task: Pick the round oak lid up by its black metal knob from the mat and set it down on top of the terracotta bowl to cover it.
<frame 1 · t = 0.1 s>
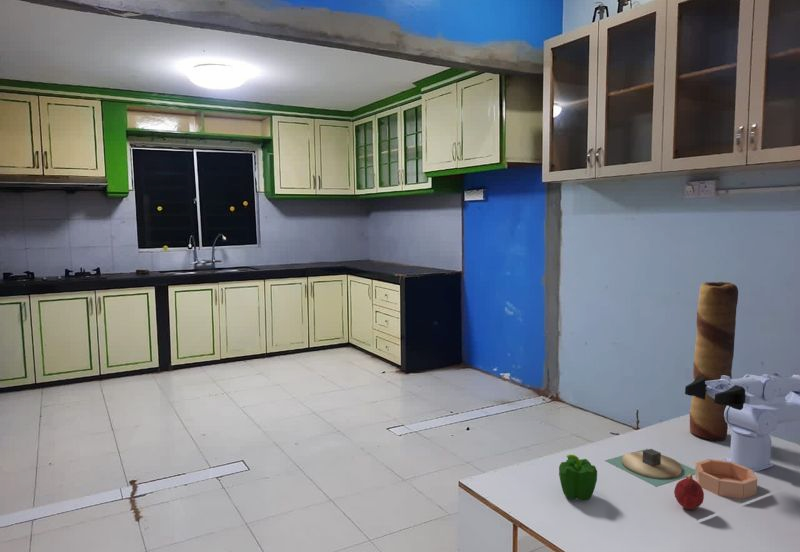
hand: (700, 394, 135), 22 cm above the table, tool horizontal, fingers open, 7 cm apart
lid: (651, 466, 145), resting on mat
bowl: (724, 486, 134), on the table
bell pepper: (577, 496, 131), on the table
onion: (688, 510, 124), on the table
wafer roll: (709, 435, 166), on the table
mat: (651, 467, 145), on the table
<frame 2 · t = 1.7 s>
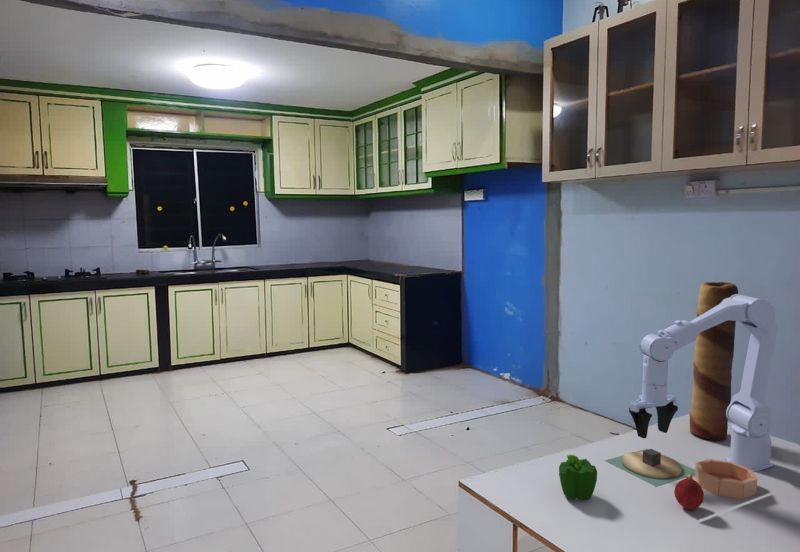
hand: (652, 434, 144), 9 cm above the table, tool pointing down, fingers open, 7 cm apart
nothing on the table moved.
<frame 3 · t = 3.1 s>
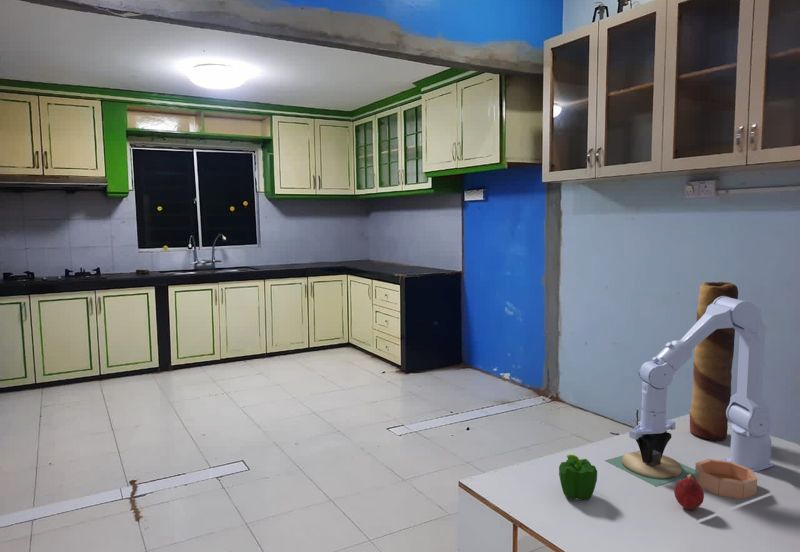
hand: (651, 460, 144), 2 cm above the table, tool pointing down, fingers closed on lid, 3 cm apart
lid: (651, 466, 145), resting on mat, touching gripper
everything else where it was.
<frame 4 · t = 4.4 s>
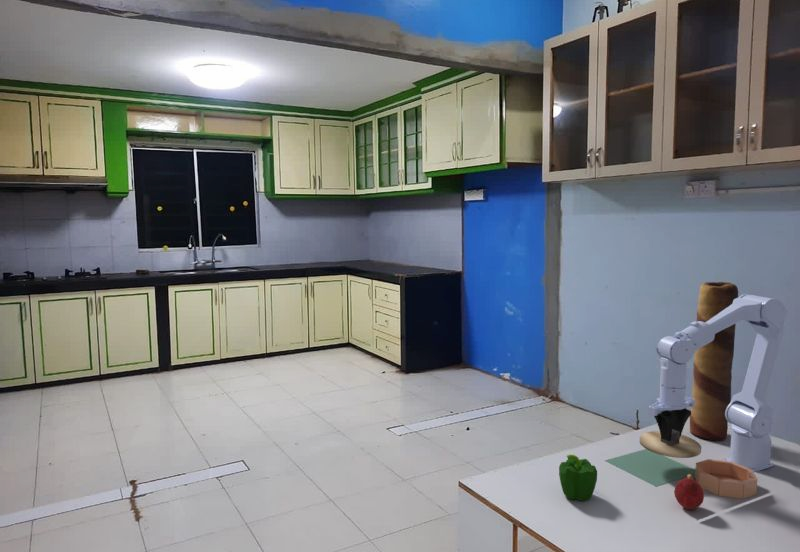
hand: (670, 438, 141), 9 cm above the table, tool pointing down, fingers closed on lid, 3 cm apart
lid: (669, 445, 142), point 7 cm above the table, touching gripper
everything else where it was.
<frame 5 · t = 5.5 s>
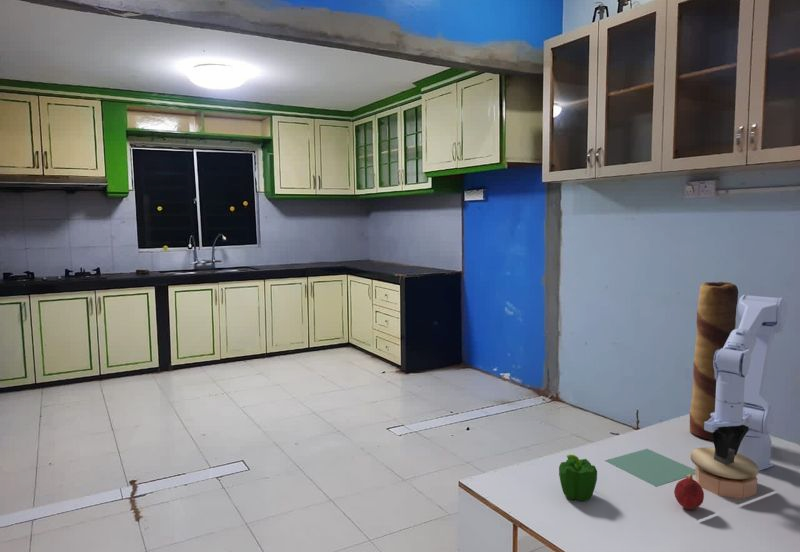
hand: (726, 455, 134), 8 cm above the table, tool pointing down, fingers closed on lid, 3 cm apart
lid: (723, 464, 134), point 5 cm above the table, touching gripper
everything else where it was.
when the fingers open (7 cm above the table, at t = 6.0 s): lid stays where it is, resting on bowl.
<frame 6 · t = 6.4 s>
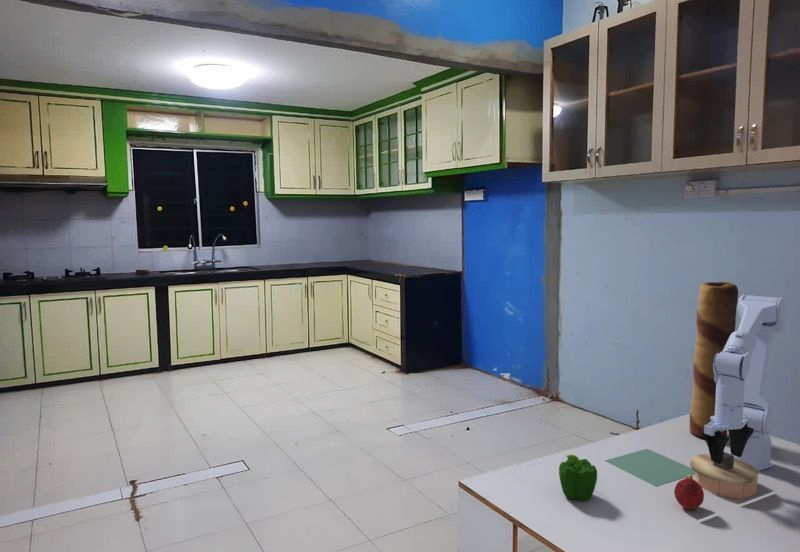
hand: (726, 458, 134), 7 cm above the table, tool pointing down, fingers open, 7 cm apart
lid: (723, 469, 135), point 4 cm above the table, touching bowl
everything else where it was.
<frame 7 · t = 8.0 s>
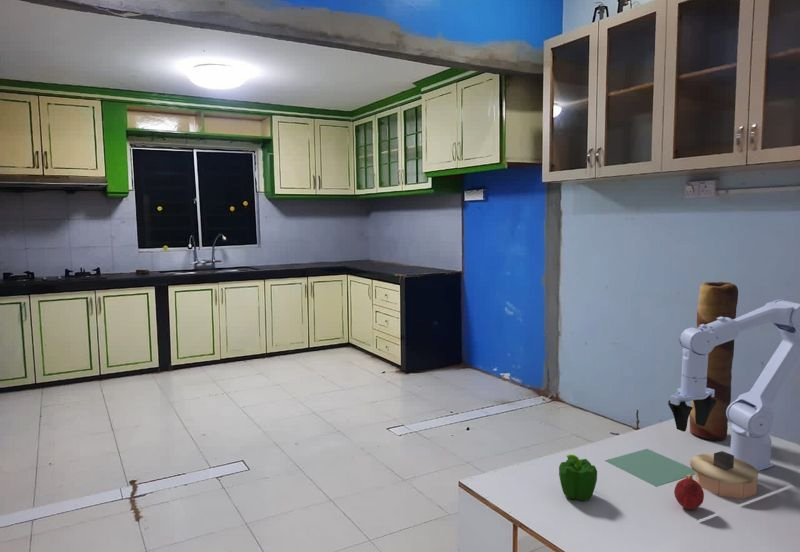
hand: (690, 427, 144), 10 cm above the table, tool pointing down, fingers open, 7 cm apart
nothing on the table moved.
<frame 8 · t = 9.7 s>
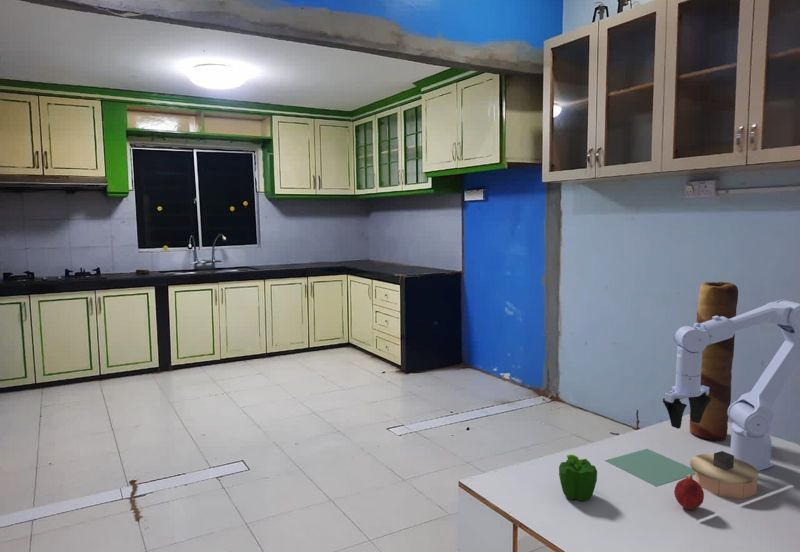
hand: (685, 424, 146), 10 cm above the table, tool pointing down, fingers open, 7 cm apart
nothing on the table moved.
at the end: lid 0.6 cm off-centre on the bowl, point 4.0 cm above the bowl's base; lid tilted 0°; lid touching bowl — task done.
